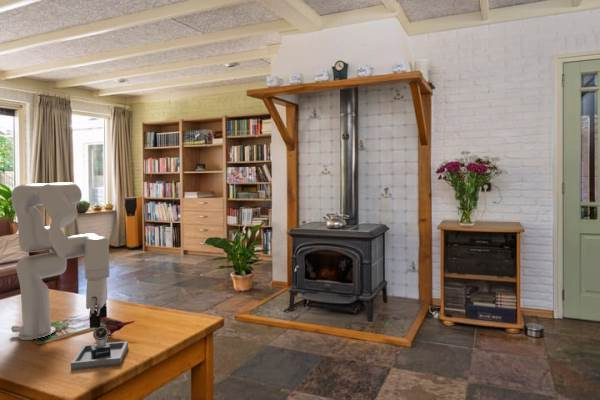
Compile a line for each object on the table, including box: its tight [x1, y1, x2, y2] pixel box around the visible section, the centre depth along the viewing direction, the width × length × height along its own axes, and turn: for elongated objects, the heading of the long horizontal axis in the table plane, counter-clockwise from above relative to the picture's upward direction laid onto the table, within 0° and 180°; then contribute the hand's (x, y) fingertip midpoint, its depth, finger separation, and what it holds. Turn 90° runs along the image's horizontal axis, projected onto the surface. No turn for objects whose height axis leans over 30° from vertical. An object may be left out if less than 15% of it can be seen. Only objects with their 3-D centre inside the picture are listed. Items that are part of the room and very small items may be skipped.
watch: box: [91, 323, 111, 359], centre depth 149 cm, size 6×8×11 cm
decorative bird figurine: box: [100, 316, 136, 338], centre depth 168 cm, size 3×18×10 cm, turn 88°
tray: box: [70, 341, 129, 371], centre depth 149 cm, size 15×15×2 cm
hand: (98, 322), depth 149 cm, fingers open, 9 cm apart
